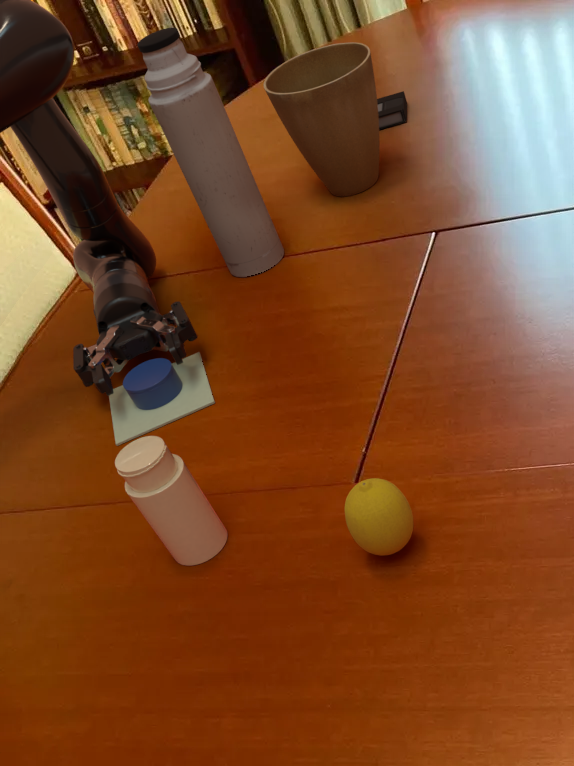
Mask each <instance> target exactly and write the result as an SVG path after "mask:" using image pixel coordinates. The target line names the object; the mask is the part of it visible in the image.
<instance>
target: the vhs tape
mask: <svg viewBox="0 0 574 766" xmlns="http://www.w3.org/2000/svg"><path fill="white" fill-rule="evenodd" d="M377 104H378V118H379V131H380V130H383V129H387V128H390V127H395V126H397V125H400V124H404V123H407V122H408V101H407V98H406V94H405V91H400V92H399V91H398V92H396V93H392V94H389V95H386V96H383V97H379V98H377Z"/></svg>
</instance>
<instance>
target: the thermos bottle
mask: <svg viewBox="0 0 574 766" xmlns="http://www.w3.org/2000/svg"><path fill="white" fill-rule="evenodd" d="M180 36H181V34H180V32H179V30H178V28H176V27H166V28H163V29H158V30H155V31H154V32H151V33H150V34H148V35H146V36H143V38H141V39H140V40H139V41H138V42H137V44H136V45H137V48H138V50H139V52H140V53H141V54H142V59H143V61H144V63H145V66H146V68H147V71H146V73H145V75H144V81H145V83H146V89H147V90H148V91H150V96H149V97H148V104H149V106H150V108H151V110H152V113H153V115H154V117H155V118H156V120H157V122H158V124H159V126H160V129H161V130H162V132H163V134H164V136H165V139H166V141H167V143H168V145H169V147H170V150H171V151H172V153H173V156H174V158H175V160H176V162H177V164H178V166H179V168H180V170H181V173H182V174H183V177H184V180H185V181H186V184H187V185H188V187H189V189H190V191H191V194H192V196H193V198H194V200H195V202H196V204H197V206H198V208H199V210H200V213H201V214H202V216H203V218H204V220H205V222H206V225H207V227H208V229H209V232H210V233H211V235H212V237H213V240H214V242H215V244H216V247H217V248H218V250H219V252H220V254H221V256H222V259H223V261H224V263H225V265H226V267H227V269H228V271H229V273H230V274H231V275H232V276H234V277H236V278H248V277H247V276H250V277H252V276H251V275H254V276H256V275H255V274H257V275H259V274H258V273H260V274H262V273H265V272H266V270H267V271H269V270H270V269H272V268H273V267H275V266H277V264H279V263H280V261H281V260H282V259H283V257H284V256H285V249H284V246H283V244H282V241H281V239H280V237H279V234H278V232H277V229H276V227H275V224H274V222H273V220H272V217H271V216H270V212H269V210H268V208H267V206H266V203H265V201H264V199H263V196H262V194H261V191H260V189H259V187H258V184H257V182H256V179H255V177H254V175H253V172H252V170H251V168H250V165H249V162H248V161H247V159H246V156H245V153H244V151H243V148H242V146H241V143H240V141H239V139H238V136H237V134H236V132H235V129H234V127H233V125H232V122H231V120H230V117H229V115H228V112H227V110H226V108H225V105H224V103H223V101H222V98H221V96H220V93H219V91H218V89H217V86H216V84H215V82H214V79H213V76H211V74H210V73H207V72H204V71H203V69H202V62H200V61H199V59H198V57H197V56H196V55H193V54H191V53H188V52H187V50H186V48H185V46H184V43H183V41H181V40H180ZM274 265H275V266H274ZM271 267H272V268H271ZM268 269H269V270H268ZM264 271H265V272H264ZM261 272H262V273H261Z"/></svg>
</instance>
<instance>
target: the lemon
mask: <svg viewBox="0 0 574 766" xmlns="http://www.w3.org/2000/svg"><path fill="white" fill-rule="evenodd" d="M344 519H345V524H346V527H347V530H348V531H349V534H350V535H351V537H352V538H353V541H354V542H355V543H356V544H357V545H358V546H359V547H360V548H361V549H362V550H364V551H365V552H367V553H369V554H371V555H375V556H390V555H394V554H395V553H398V552H400V551H401V550H402V549H403V548H404V547H405V546H406V545H407V544H408V543H409V541H410V540H411V537H412V534H413V531H414V515H413V510H412V508H411V505H410V502H409V501H408V499H407V497H406V496H405V494H404V493H403V492H402V491H401V489H400V488H399V487H398V486H397V485H395V484H394V483H393V482H391V481H389V480H387V479H384V478H379V477H376V478H375V477H373V478H367V479H363V480H362V481H360V482H358V483H356V485H354V486H353V487H352V489H350V490H349V492H348V494H347V496H346V498H345V502H344Z"/></svg>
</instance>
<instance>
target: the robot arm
mask: <svg viewBox="0 0 574 766" xmlns="http://www.w3.org/2000/svg"><path fill="white" fill-rule="evenodd" d="M74 63H75V45H74V41H73V37H72V35H71V33H70V31H69V30H68V28H67V26H66V25H64V23H63V22H62V21H61V20H60V19H59V18H58V17H56V16H55V14H53V13H52V12H50V11H49V10H47V9H46V8H45V7H43V6H42V5H40V4H38V3H37V2H35V1H33V0H0V134H2V133H3V132H4V131H6V130H8V129H9V128H10V129H11V130H12V131H13V133H14V135H15V136H16V138H17V139H18V141H19V142H20V144H21V145H22V147H23V149H24V150H25V152H26V153H27V155H28V157H29V158H30V160H31V162H32V163H33V165H34V167H35V168H36V170H37V173H38V174H39V176H40V178H41V179H42V181H43V183H44V185H45V187H46V189H47V190H48V192H49V194H50V196H51V198H52V200H53V202H54V203H55V205H56V208H57V209H58V210H59V211H58V212H60V214H61V217H62V218H63V220H64V222H65V224H66V226H67V227H68V229H69V231H70V232H71V233H72V234H73V235H74V236H76V238H79V239H80V240H81V241H79V242H78V243H77V245H75V247H74V249H73V253H72V259H73V264H74V268H75V270H76V272H77V274H78V276H79V278H80V280H81V281H82V282H83V283H84V285H85V286H86V287H87V288H88V289H89V290H90V291H91V292H92V293H93V297H92V298H93V299H92V300H93V302H92V303H93V314H94V315H93V316H94V317H95V321H96V327H97V332H98V338H97V340H96V343H95V344H93V345H91V346H88V347H87V346H85V345H84V344H83V343H78V344H76V345H75V346H73V351H72V352H73V353H72V354H73V357H72V358H73V362H72V363H73V364H72V365H73V371H74V372H75V373H76V375H78V377H79V378H80V380H81V381H82V384H83V385H84V387H86V388H89V387H91V386H93V385H94V386H95V387H96V389H97V390H98V392H99V393H100V394H105V395H106V396H108V397H109V395H111V394H113V393H114V392H113V389H114V388H113V381H112V378H111V377H112V376H113V375H114V374H115V373H120V372H121V371H122V370H123V369H124V367H126V365H127V364H128V363H129V361H130V360H133V359H134V358H136V357H139V356H140V355H143V354H146V353H148V352H151V351H153V350H156V351H162V352H168V351H169V353H170V355H171V357H172V358H173V360H174V363H175V362H176V364H177V365H179V364H181V363H183V360H182V359H184V358H186V357H187V351H186V348H185V343H186V342H187V341H188V342H194V341H196V340H197V339H198V336H199V335H198V333H197V332H196V330H195V328H194V326H193V324H192V322H191V320H190V318H189V316H188V314H187V312H186V311H185V308H184V307H183V305H182V303H181V301H174V302H173V303H171V304H170V308H171V309H170V310H169V311H168V312H166V313H165V314H161V313H160V310H159V305H158V302H157V299H156V296H155V294H154V292H153V291H152V289H151V286H150V283H149V282H150V281H149V278H152V277H153V275H154V273H155V271H156V268H157V256H156V252H155V249H154V247H153V246H152V244H151V242H150V240H149V239H148V238H147V236H146V235H145V234H144V233H143V232H142V230H141V229H140V228H138V227H137V225H136V224H135V223H134V222H133V221H132V220H131V219H130V218H129V217H128V216H127V214H126V213H125V212H124V210H123V209H122V208H121V206H120V204H119V202H118V200H117V198H116V196H115V193H114V191H113V190H112V187H111V185H110V183H109V181H108V178H107V176H106V174H105V172H104V170H103V168H102V166H101V165H100V163H99V161H98V159H97V158H96V156H95V155H94V154H93V152H92V151H91V149H90V148H89V147H88V145H87V144H86V142H85V141H84V139H83V138H82V137H81V135H80V134H79V132H78V131H77V130H76V129H75V128H74V126H73V125H72V124H71V122H70V121H69V120H68V118H67V117H66V115H65V114H64V113H63V111H62V110H61V108H60V107H59V105H58V104H57V102H56V101H55V99H54V97H55V96H56V95H58V93H59V92H60V91H61V90H62V89H63V88H64V86H65V85H66V83H67V82H68V80H69V78H70V76H71V73H72V70H73V67H74ZM175 326H176V327H175ZM102 363H103V364H102ZM103 365H104V366H103Z"/></svg>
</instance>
